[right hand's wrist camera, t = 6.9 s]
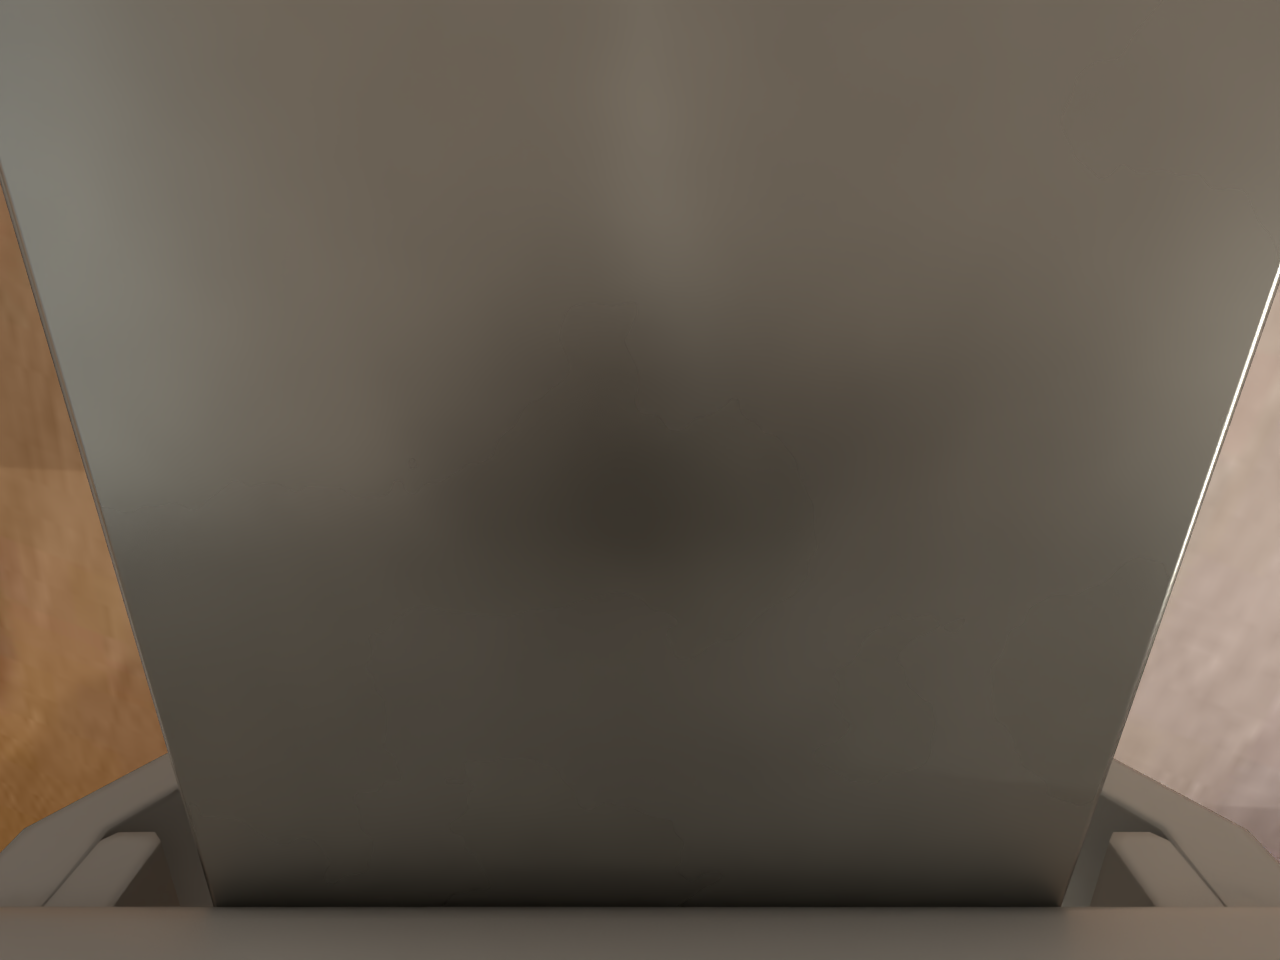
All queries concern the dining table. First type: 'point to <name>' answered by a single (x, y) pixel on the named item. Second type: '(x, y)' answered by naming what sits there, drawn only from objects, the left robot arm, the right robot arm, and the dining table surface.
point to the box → (645, 420)
